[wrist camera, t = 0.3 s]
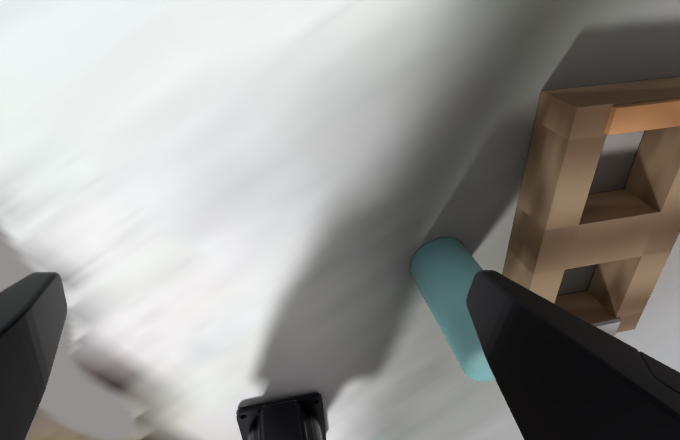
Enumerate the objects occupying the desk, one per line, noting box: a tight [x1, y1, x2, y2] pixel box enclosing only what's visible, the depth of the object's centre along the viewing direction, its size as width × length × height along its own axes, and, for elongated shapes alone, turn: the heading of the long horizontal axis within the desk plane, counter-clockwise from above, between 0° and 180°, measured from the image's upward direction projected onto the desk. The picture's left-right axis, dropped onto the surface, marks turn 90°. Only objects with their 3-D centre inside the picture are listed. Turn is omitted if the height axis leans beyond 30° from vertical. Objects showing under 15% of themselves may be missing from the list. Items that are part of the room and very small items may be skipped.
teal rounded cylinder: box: [410, 238, 496, 381], centre depth 26 cm, size 4×4×8 cm
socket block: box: [502, 76, 680, 336], centre depth 28 cm, size 18×10×3 cm, turn 2°
